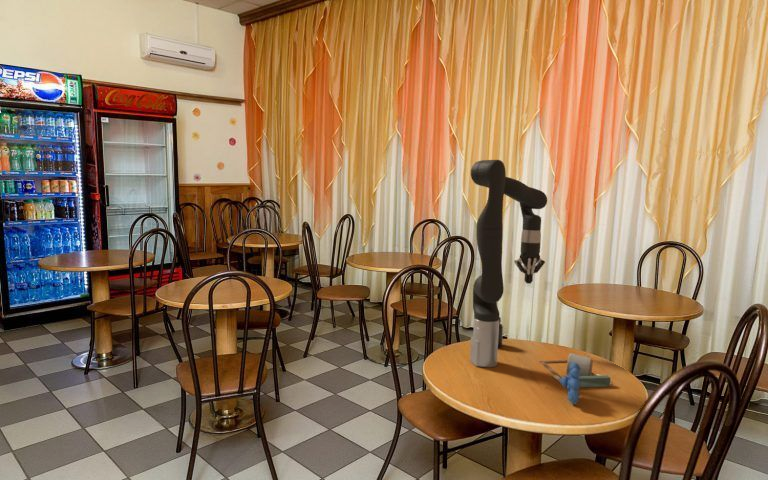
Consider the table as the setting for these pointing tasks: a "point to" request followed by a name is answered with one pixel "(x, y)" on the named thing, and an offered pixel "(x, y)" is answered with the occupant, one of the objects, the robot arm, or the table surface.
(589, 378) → the bay
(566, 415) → the table surface
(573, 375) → the grapes
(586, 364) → the ceramic mug
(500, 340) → the supplement bottle
